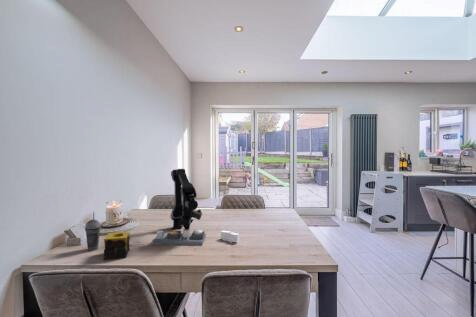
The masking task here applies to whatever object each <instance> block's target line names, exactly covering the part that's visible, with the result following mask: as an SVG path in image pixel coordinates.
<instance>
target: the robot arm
mask: <svg viewBox="0 0 476 317" xmlns="http://www.w3.org/2000/svg"><path fill="white" fill-rule="evenodd" d="M170 177H171V179H172V181H173V183H174V184H173V185H174V205H173V206H172V208H171V209H172V210H171V213H170V220H172V227H171V230H181V229H189V230H190V228H191V224H192V223H193V222H194V219H196V220H198V221H200V219H201V218H202V216H203V213H202V210H201V209H198V210H196V209H197V208H198V207H199V206H198V205H199V204H198V201H197V200H195V198H197V195H198V194H197V191H196V189H195V186H194V185H193V183H191V182H190V181H189V179H188V178H189V177H188V176H187V173H186V169H185V168H178V169H177V168H176V169H173V170H172V171H171V170H170ZM193 218H194V219H193Z"/></svg>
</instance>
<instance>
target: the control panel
mask: <svg viewBox="0 0 476 317" xmlns="http://www.w3.org/2000/svg"><path fill="white" fill-rule="evenodd" d="M173 231H174V230H169V232H164V237H163V238H162V240H161V239H156V238H157V235H156V236H155V237H154V238H153V239H152V240H151V242H152V243H151V245H178V246H181V245H182V246H183V245H184V246H203V244H204V243H205V240H206V237H207V236H206V233H205V231H203V230H202V235H194V230H193V232H189V237H188V238H183V232H182V231H181V230H176V231H177V232H179V234H170V232H173Z"/></svg>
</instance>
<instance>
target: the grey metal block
mask: <svg viewBox="0 0 476 317" xmlns="http://www.w3.org/2000/svg"><path fill="white" fill-rule="evenodd" d="M164 233H165V231H164V230H157V231H156V236H157V238H156V239H161V240H162V238H163V237H164Z"/></svg>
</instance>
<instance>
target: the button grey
mask: <svg viewBox="0 0 476 317" xmlns="http://www.w3.org/2000/svg"><path fill="white" fill-rule="evenodd" d="M193 231H194V235H202V231H203V230H202V229H194V230H193Z"/></svg>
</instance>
